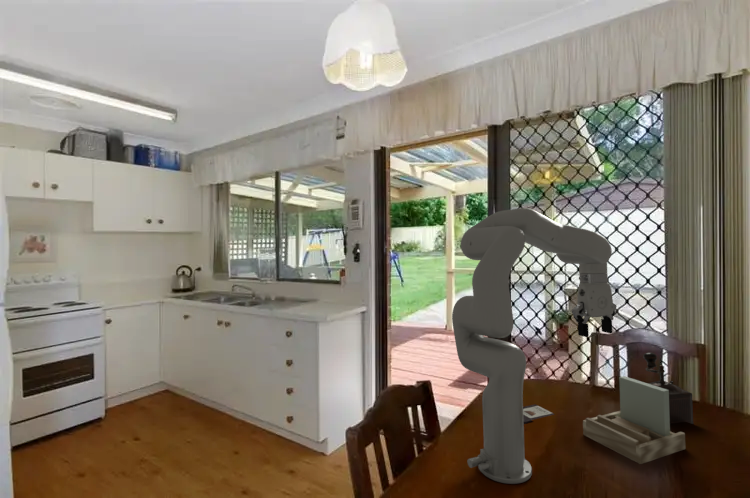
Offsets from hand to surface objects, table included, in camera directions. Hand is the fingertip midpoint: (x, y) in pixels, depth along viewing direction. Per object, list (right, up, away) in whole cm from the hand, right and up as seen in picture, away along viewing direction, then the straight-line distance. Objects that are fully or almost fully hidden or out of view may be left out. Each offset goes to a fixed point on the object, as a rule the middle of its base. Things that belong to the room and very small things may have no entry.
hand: (595, 334), depth 116 cm
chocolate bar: (-20, -28, +5) cm, 35 cm away
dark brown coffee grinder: (+22, -27, +3) cm, 34 cm away
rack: (+2, -27, -14) cm, 30 cm away
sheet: (+6, -26, -12) cm, 29 cm away
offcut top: (+1, -23, -14) cm, 27 cm away
